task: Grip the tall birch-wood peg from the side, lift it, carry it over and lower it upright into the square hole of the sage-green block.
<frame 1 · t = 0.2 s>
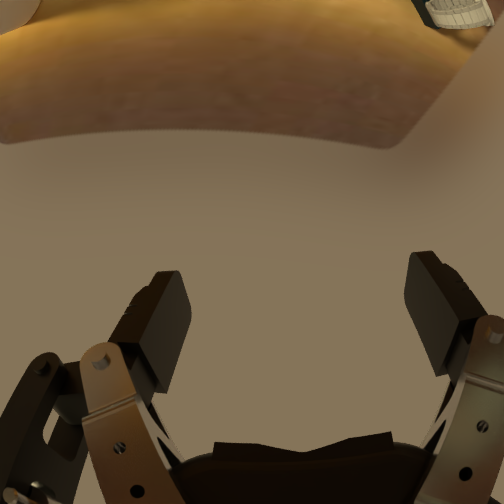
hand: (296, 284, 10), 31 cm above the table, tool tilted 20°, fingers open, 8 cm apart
watch: (427, 1, 21), on the table
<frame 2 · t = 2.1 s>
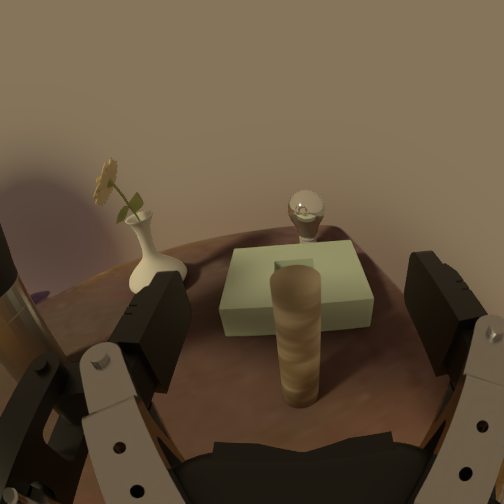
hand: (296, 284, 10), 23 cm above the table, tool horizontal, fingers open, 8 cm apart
flower in vase: (158, 287, 54), on the table
peg: (300, 393, 31), on the table
light bulb: (308, 249, 59), on the table
hole block: (296, 297, 47), on the table
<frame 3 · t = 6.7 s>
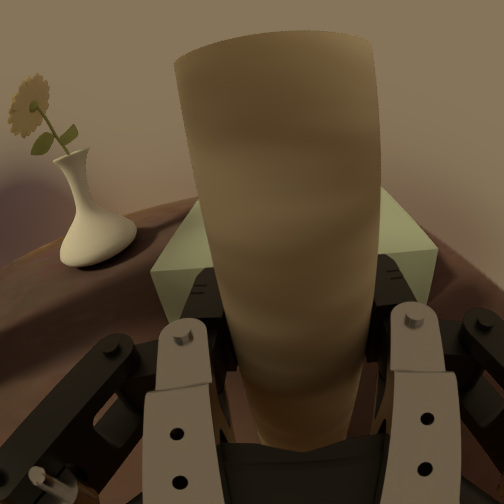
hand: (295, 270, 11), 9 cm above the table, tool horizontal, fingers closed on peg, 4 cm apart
flower in vase: (98, 257, 36), on the table
peg: (303, 446, 13), on the table, touching gripper
hole block: (295, 262, 28), on the table
when the fingers open (10 cm above the table, at t = 14.0 s): peg drops 1 cm, resting in hole block.
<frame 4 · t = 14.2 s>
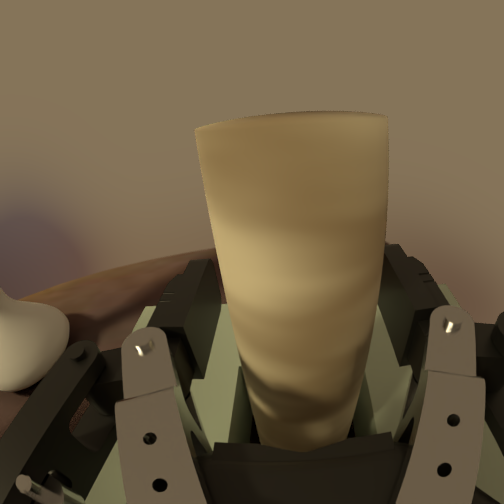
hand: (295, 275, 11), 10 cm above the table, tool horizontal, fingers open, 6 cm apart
flower in vase: (27, 365, 21), on the table
peg: (302, 457, 13), resting in hole block
hole block: (302, 456, 13), on the table
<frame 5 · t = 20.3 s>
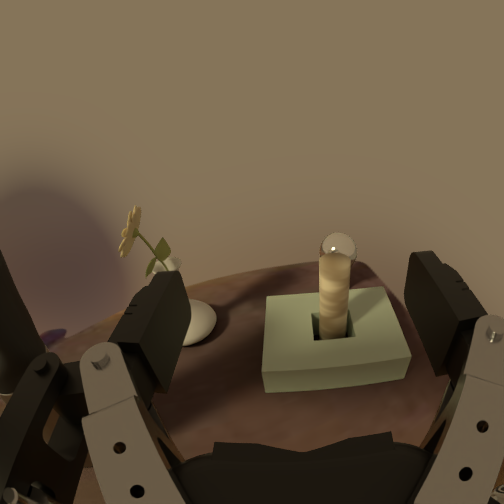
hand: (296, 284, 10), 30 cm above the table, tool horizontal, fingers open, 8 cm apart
flower in vase: (186, 333, 53), on the table
peg: (331, 347, 45), resting in hole block
light bulb: (337, 290, 57), on the table
hole block: (331, 347, 45), on the table
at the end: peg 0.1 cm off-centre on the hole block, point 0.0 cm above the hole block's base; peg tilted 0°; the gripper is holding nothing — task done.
